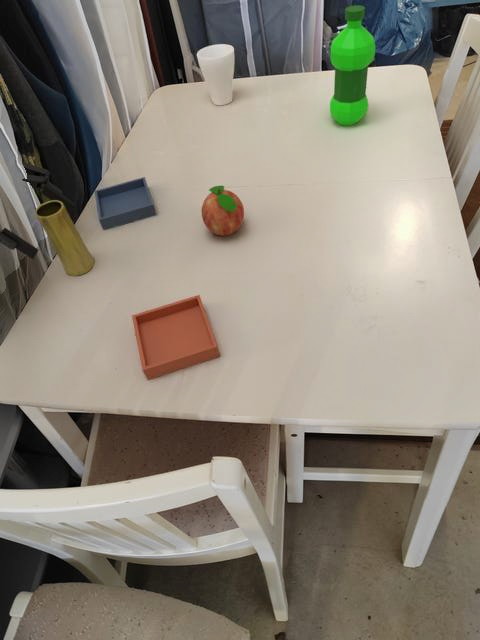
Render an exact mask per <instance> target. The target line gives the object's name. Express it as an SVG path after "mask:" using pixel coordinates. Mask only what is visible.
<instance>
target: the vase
mask: <svg viewBox="0 0 480 640" xmlns="http://www.w3.org/2000/svg"><path fill="white" fill-rule="evenodd" d="M34 214H35V217H36V218H37V220H38V221H39V224H40V225H41V227H42V229H43V230H44V232H45V234H46V235H47V237H48V239H49V241H50V243H51V244H52V247H53V249H54V251H55V252H56V255H57V256H58V258H59V260H60V262H61V264H62V266H63V267H64V268H63V269H64V272H65V273H66V274H67V275H68V276H72V277H77V276H82V275H84V274H86V273H88V272H89V271H90V270H91V269H93V267H94V266H95V258H94V257H93V256H92V254H91V253H90V251H89V249H88V247H87V245H86V243H85V242H84V240H83V239H82V236H81V235H80V233H79V230H78V229H77V227H76V225H75V224H74V222H73V219H72V217H71V216H70V213H68V212H67V210H66V208H65V206H64V204H63V203H62V202H61V201H58V200H47V201H44V202H42V203H41V204H39V205H38V206H37V207H36V208H35V210H34Z"/></svg>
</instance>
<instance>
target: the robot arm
mask: <svg viewBox="0 0 480 640" xmlns="http://www.w3.org/2000/svg"><path fill="white" fill-rule="evenodd" d="M22 164H23V166H24V168H25V170H26V173H27V179H25V178H24V179H22V180H23V181H26V182H29V183H30V185H31V186H32V188H31V189H38V190H41V192H40V194H41V195H43V196H45V197H46V198H47V199H49V201H51V200H58V201H61V202H62V203H63V204H64V206H65V208H66V210H67V212H68V214H69V215H71V214H72V213H73V211H74V209H76V206H77V203H75V202H73V200H71V199H70V198H68V197H67V196H65V194H63V191H62V189H60V188H58V187H57V186H56V185H54V184H53V183H52V182H51V181H50V175H51V172H50V170H49V169H47V168H43V167H41V166H37V165H34V164H31V163H28V162H25V161H22ZM0 244H1V245H3V246H5V247H6V248H7V249H9V250H11V251H14V250H15V249H16V250H18V251H19V252H21V253H22V254H24V255H25V256H27V257H29V258H30V259H32V260H34V259H35V258H36V256H37V254H38V253H39V251H40V250H39V249H38V248H37V247H35V246H34V245H32V244H31V243H30V242H28V241H26V240H25V239H23V238H21V237H20V236H19V235H17V234H16V233H14V232H12V230H10V229H8V228H7V227H3V229H1V230H0Z"/></svg>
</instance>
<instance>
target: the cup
mask: <svg viewBox="0 0 480 640" xmlns="http://www.w3.org/2000/svg"><path fill="white" fill-rule="evenodd" d="M196 58H197V62H198V65H199V69H200V72H201V74H202V77H203V79H204V81H205V84H206V86H207V89H208V91H209V94H210V98H211V102H212V104H213V105H215V106H227V105H228V104H230V103H232V101H233V84H234V83H233V82H234V74H235V59H236V58H235V48H234V46H232V45H230V44H227V43H226V44H225V43H219V44H212V45H207V46H205V47H203V48H201V49H199V50H198V51H197V52H196Z"/></svg>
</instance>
